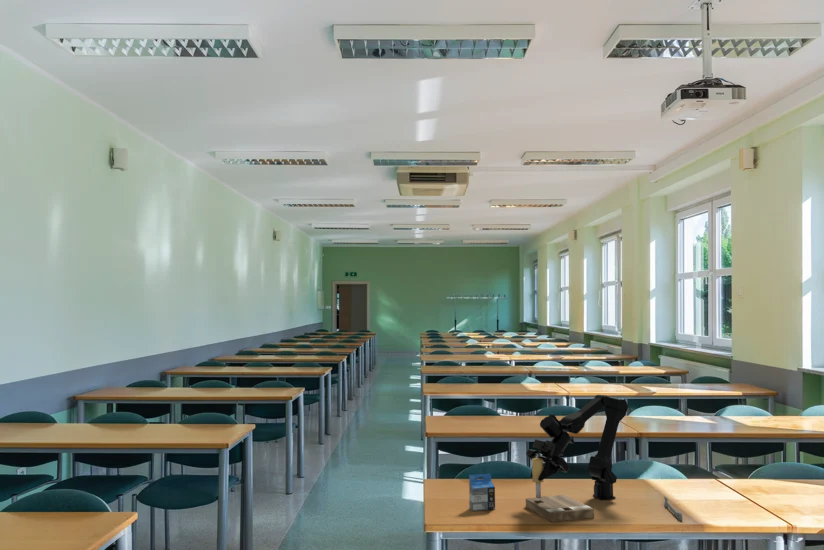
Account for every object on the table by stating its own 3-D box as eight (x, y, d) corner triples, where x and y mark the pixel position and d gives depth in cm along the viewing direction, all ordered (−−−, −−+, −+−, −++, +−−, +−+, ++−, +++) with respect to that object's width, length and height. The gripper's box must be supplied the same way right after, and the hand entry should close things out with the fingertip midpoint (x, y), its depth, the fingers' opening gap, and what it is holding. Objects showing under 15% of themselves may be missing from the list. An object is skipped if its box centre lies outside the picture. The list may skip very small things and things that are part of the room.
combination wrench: (682, 512, 234) (666, 495, 254) (678, 512, 234) (663, 495, 254) (682, 523, 234) (666, 505, 253) (678, 523, 234) (663, 505, 254)
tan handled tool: (540, 496, 251) (539, 457, 252) (546, 498, 247) (545, 459, 248) (531, 497, 250) (530, 458, 250) (536, 499, 246) (535, 460, 247)
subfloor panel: (565, 502, 258) (564, 494, 258) (594, 517, 238) (593, 508, 239) (525, 506, 253) (525, 498, 253) (552, 522, 234) (551, 513, 234)
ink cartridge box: (472, 511, 247) (472, 477, 248) (469, 508, 251) (468, 475, 252) (495, 509, 250) (494, 475, 250) (491, 506, 253) (490, 473, 254)
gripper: (529, 427, 260) (506, 460, 254) (562, 435, 243) (539, 470, 238) (545, 446, 263) (523, 479, 257) (579, 454, 247) (556, 489, 241)
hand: (535, 479), depth 248 cm, fingers closed on tan handled tool, 4 cm apart
